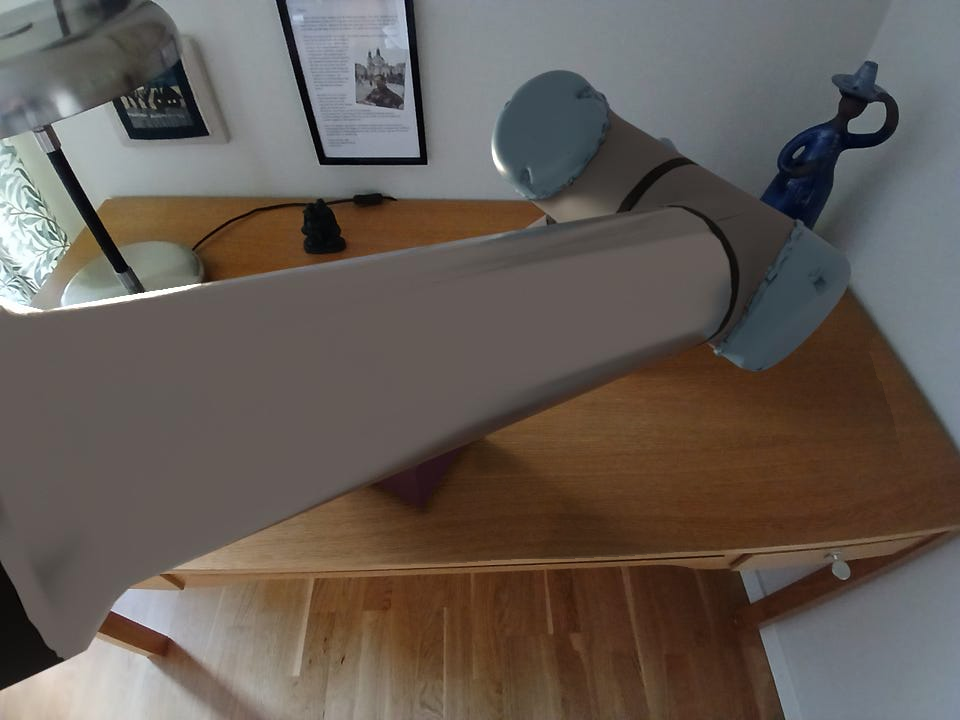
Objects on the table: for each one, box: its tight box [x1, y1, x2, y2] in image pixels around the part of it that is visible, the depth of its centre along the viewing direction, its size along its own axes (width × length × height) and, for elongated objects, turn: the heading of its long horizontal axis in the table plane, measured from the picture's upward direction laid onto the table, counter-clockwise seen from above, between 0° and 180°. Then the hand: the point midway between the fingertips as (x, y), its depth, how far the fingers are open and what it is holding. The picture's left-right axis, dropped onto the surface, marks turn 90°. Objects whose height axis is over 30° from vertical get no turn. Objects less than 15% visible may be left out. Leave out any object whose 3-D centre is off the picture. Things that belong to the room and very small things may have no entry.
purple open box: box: [374, 445, 465, 510], centre depth 70 cm, size 17×13×10 cm
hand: (371, 377), depth 60 cm, fingers open, 13 cm apart
